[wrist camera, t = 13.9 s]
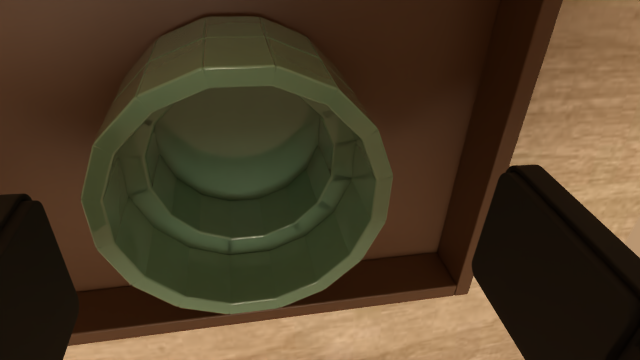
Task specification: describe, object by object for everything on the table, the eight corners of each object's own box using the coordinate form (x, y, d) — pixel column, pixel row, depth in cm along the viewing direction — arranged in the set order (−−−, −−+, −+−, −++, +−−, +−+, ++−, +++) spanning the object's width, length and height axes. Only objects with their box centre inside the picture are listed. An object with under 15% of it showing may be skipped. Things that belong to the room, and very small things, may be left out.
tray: (541, -128, 12) (606, -131, 10) (442, 252, 20) (468, 294, 18) (-201, -176, 9) (-321, -193, 7) (24, 298, 17) (-3, 355, 15)
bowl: (356, 11, 13) (412, 62, 9) (339, 206, 17) (374, 297, 13) (94, 11, 12) (38, 70, 8) (142, 223, 15) (120, 329, 12)
